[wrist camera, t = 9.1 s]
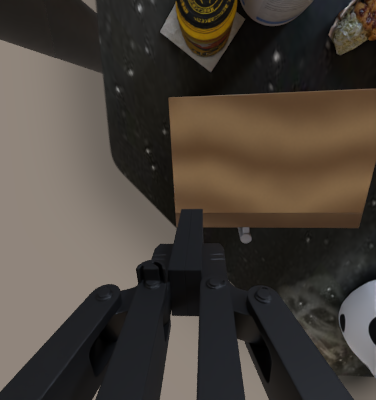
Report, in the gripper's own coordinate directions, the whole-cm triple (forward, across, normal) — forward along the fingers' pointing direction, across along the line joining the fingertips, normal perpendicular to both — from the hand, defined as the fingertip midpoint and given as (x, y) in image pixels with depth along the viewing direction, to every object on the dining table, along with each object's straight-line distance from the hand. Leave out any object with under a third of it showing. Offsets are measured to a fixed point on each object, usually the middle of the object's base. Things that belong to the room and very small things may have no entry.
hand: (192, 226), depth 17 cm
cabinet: (+22, +8, +2) cm, 23 cm away
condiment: (+23, +1, +18) cm, 29 cm away
